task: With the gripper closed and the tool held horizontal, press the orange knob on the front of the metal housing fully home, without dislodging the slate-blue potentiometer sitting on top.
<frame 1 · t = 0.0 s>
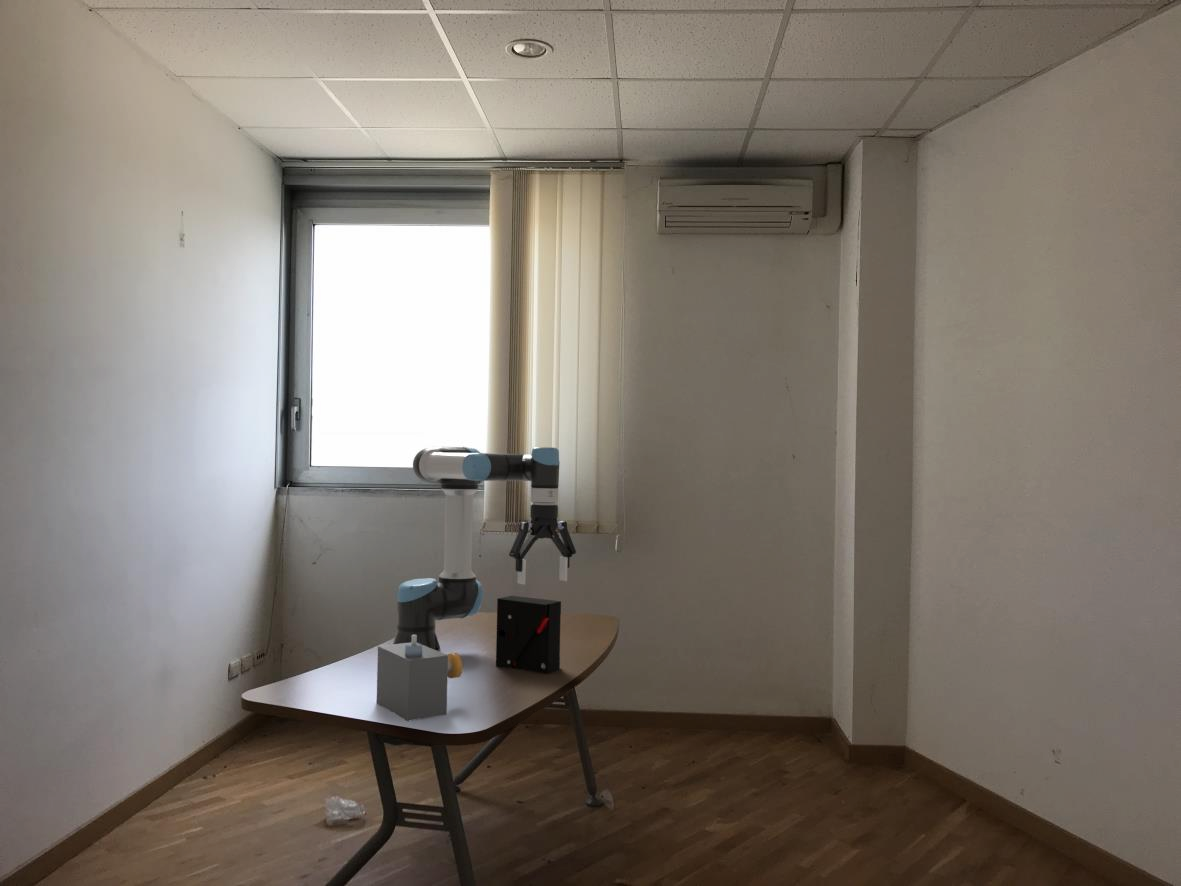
hand: (542, 582, 236), 28 cm above the table, tool pointing down, fingers open, 13 cm apart
electrical component: (528, 668, 256), on the table
potentiometer: (413, 655, 207), point 14 cm above the table, touching housing
knob: (442, 666, 217), point 9 cm above the table, slide at 5.0 cm
housing: (410, 708, 211), on the table
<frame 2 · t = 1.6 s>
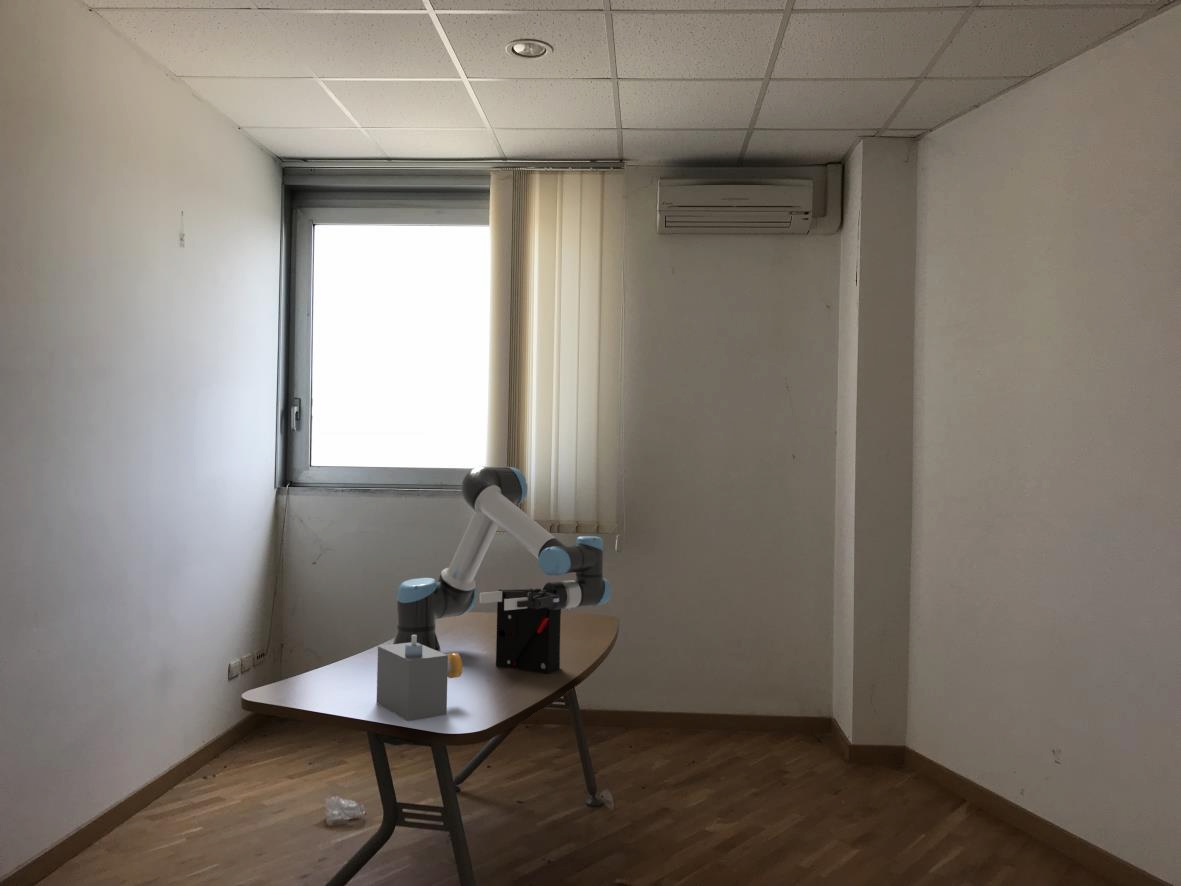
hand: (492, 601, 225), 24 cm above the table, tool horizontal, fingers open, 12 cm apart
nothing on the table moved.
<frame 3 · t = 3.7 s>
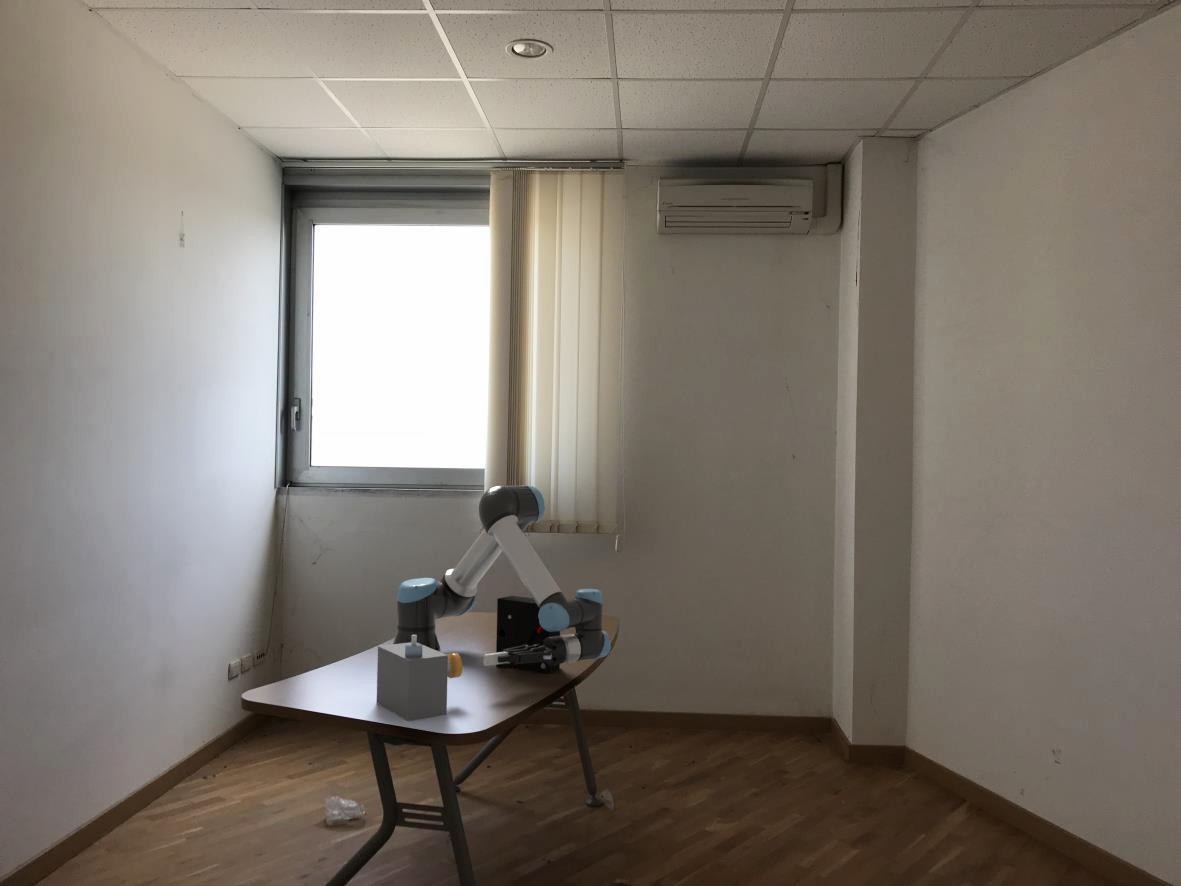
hand: (485, 660, 224), 9 cm above the table, tool horizontal, fingers closed
nothing on the table moved.
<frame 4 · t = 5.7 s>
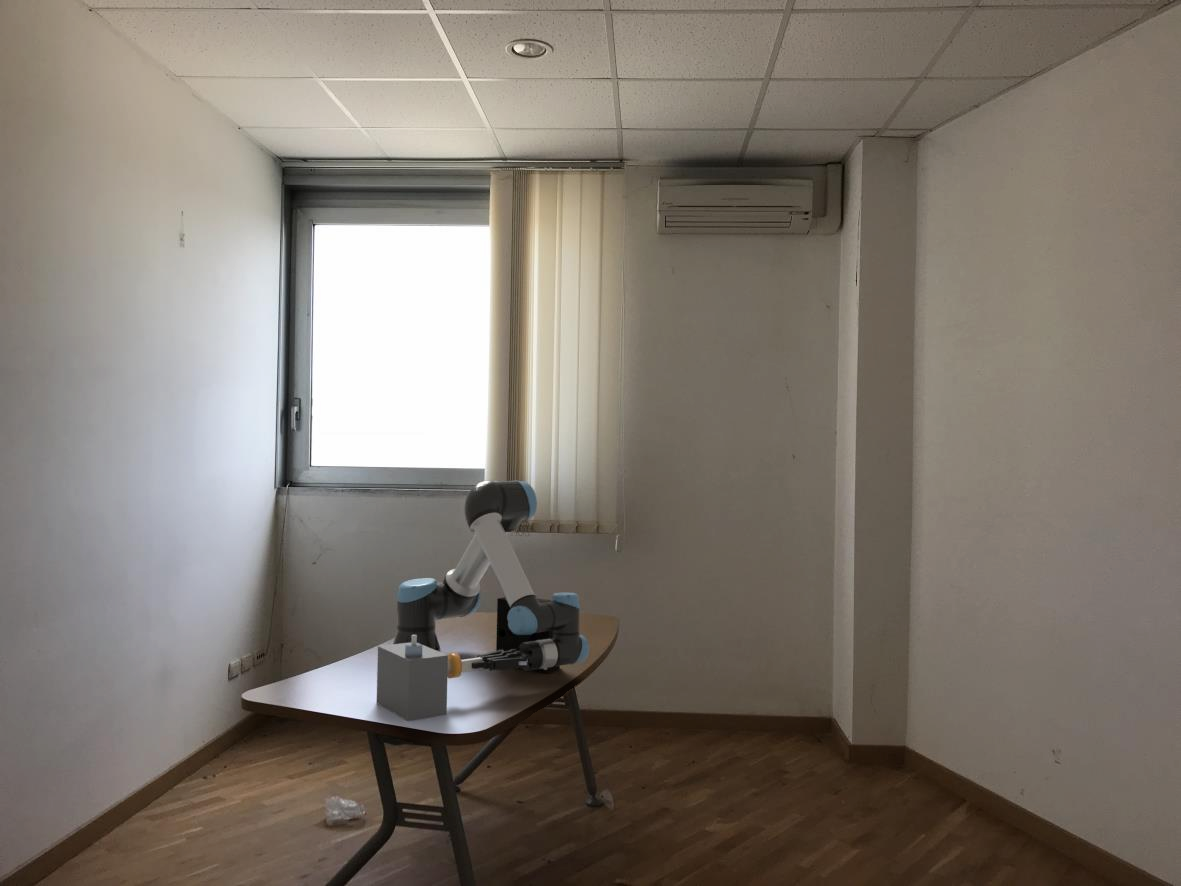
hand: (458, 666, 218), 9 cm above the table, tool horizontal, fingers closed
knob: (442, 667, 217), point 9 cm above the table, slide at 4.9 cm, touching gripper
everything else where it was.
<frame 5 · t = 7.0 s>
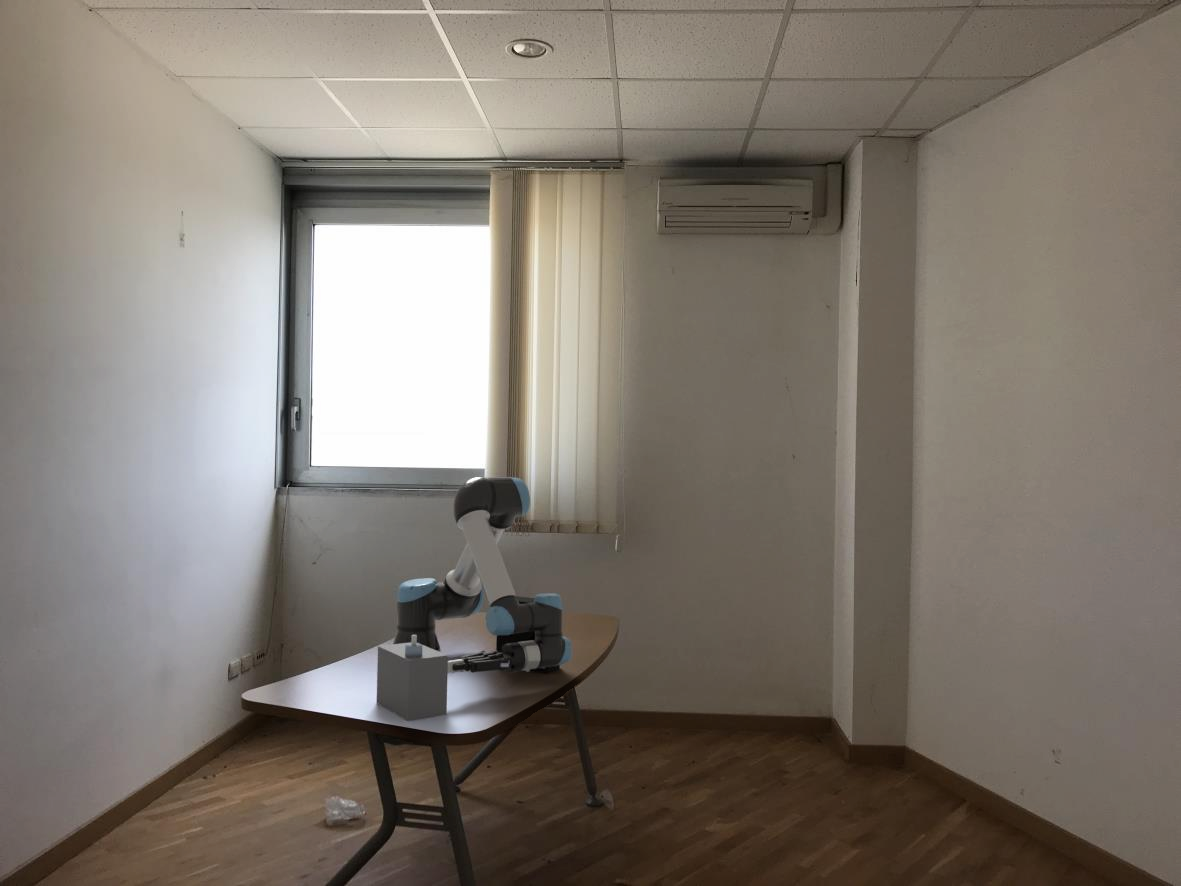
hand: (439, 668, 216), 9 cm above the table, tool horizontal, fingers closed
knob: (423, 669, 213), point 9 cm above the table, slide at -0.3 cm, touching gripper, housing
everything else where it was.
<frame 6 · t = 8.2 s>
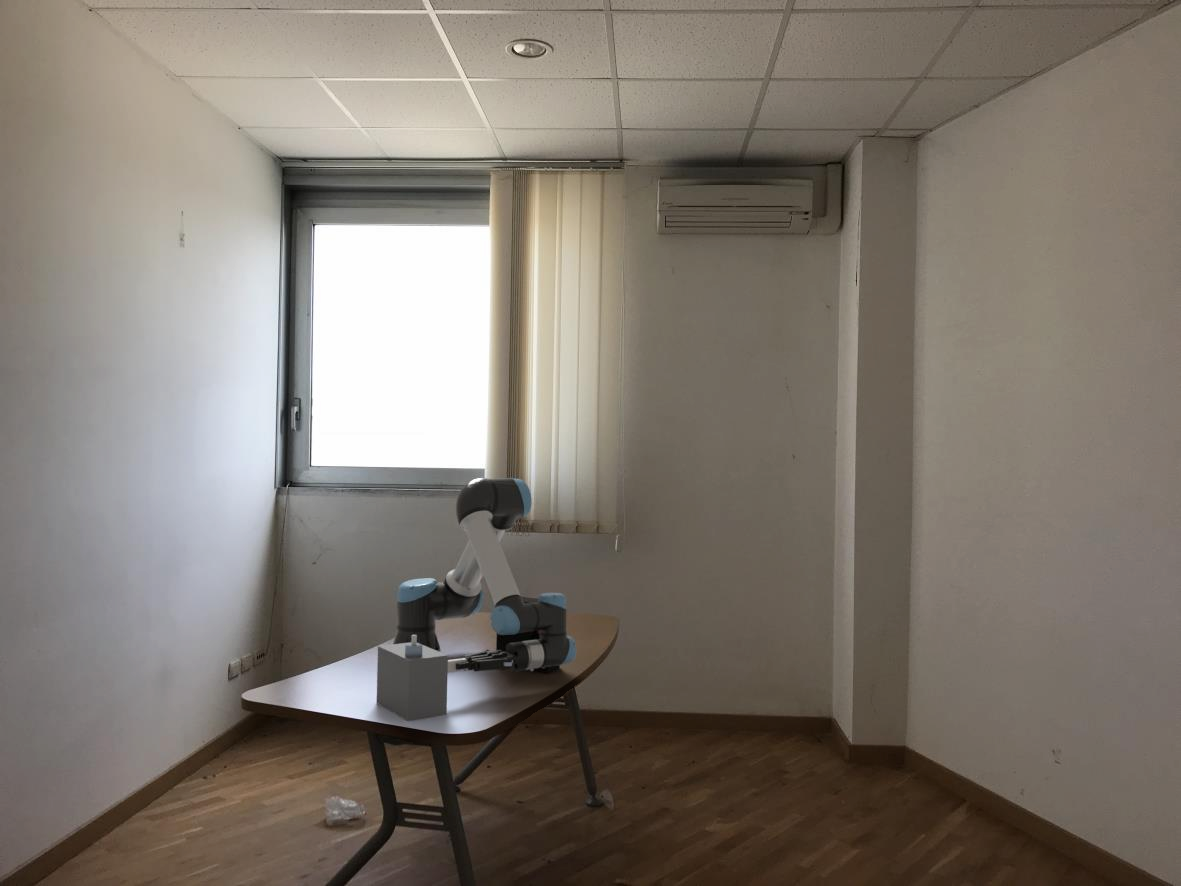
hand: (442, 667, 216), 9 cm above the table, tool horizontal, fingers closed
knob: (424, 669, 214), point 9 cm above the table, slide at -0.1 cm
everything else where it was.
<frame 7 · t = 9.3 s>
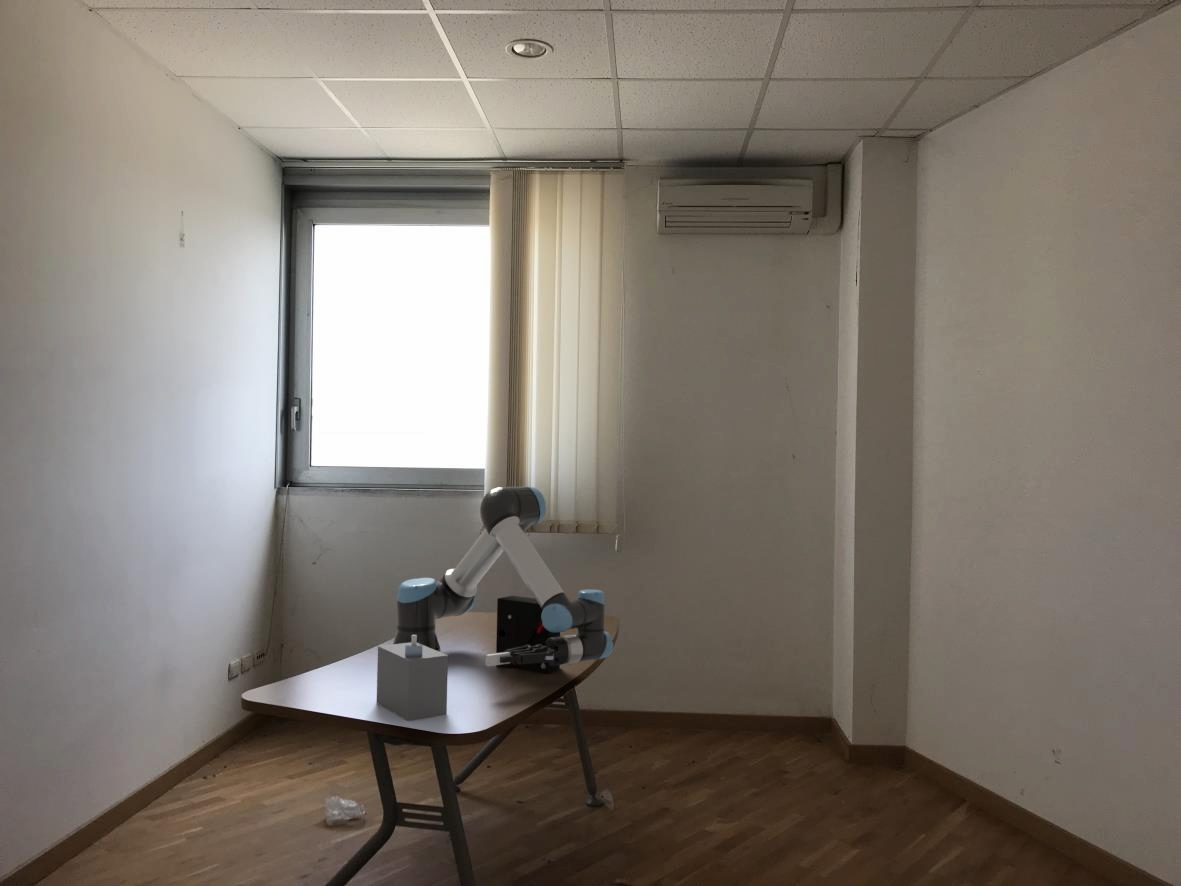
hand: (487, 660, 224), 9 cm above the table, tool horizontal, fingers closed
nothing on the table moved.
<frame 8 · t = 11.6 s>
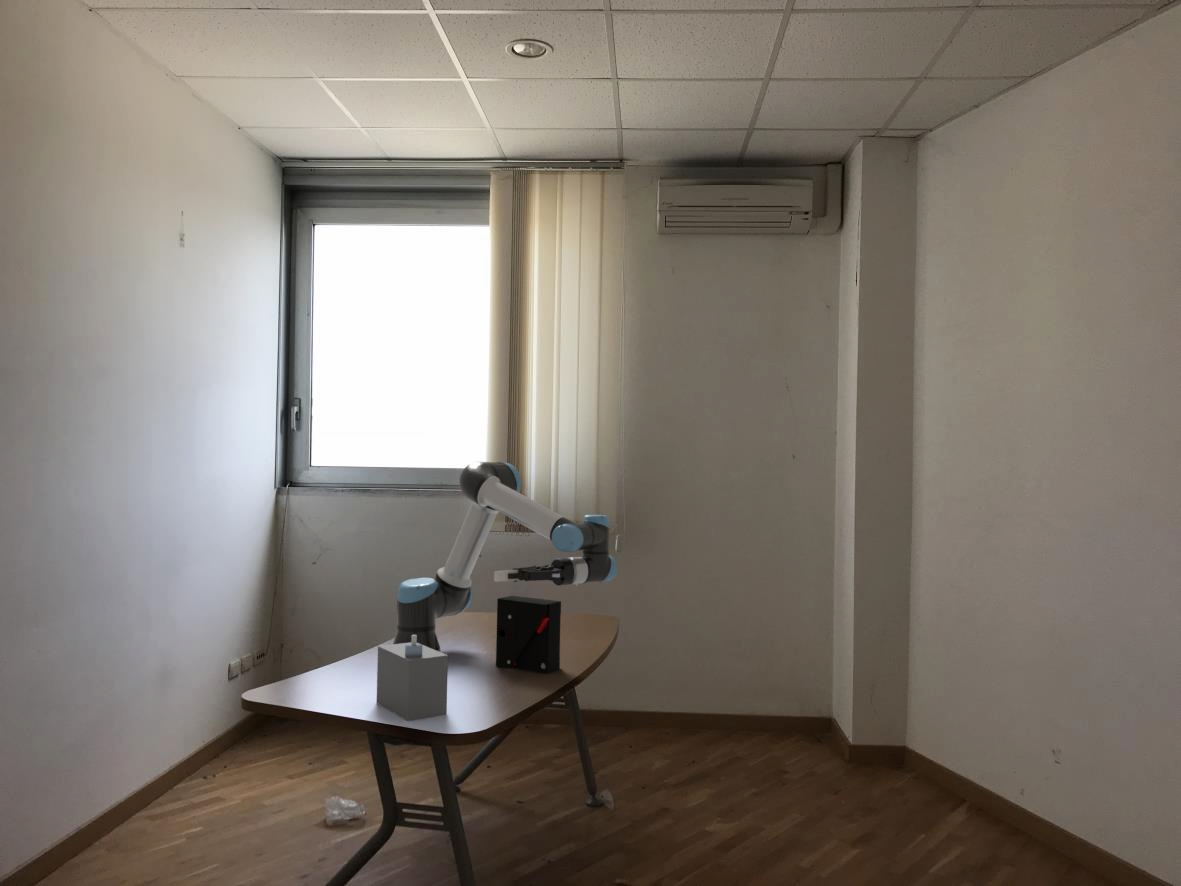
hand: (495, 576, 230), 30 cm above the table, tool horizontal, fingers closed
nothing on the table moved.
at the end: knob slide at -0.1 cm; potentiometer moved 0.0 cm from its start; potentiometer point 14.0 cm above the table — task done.
